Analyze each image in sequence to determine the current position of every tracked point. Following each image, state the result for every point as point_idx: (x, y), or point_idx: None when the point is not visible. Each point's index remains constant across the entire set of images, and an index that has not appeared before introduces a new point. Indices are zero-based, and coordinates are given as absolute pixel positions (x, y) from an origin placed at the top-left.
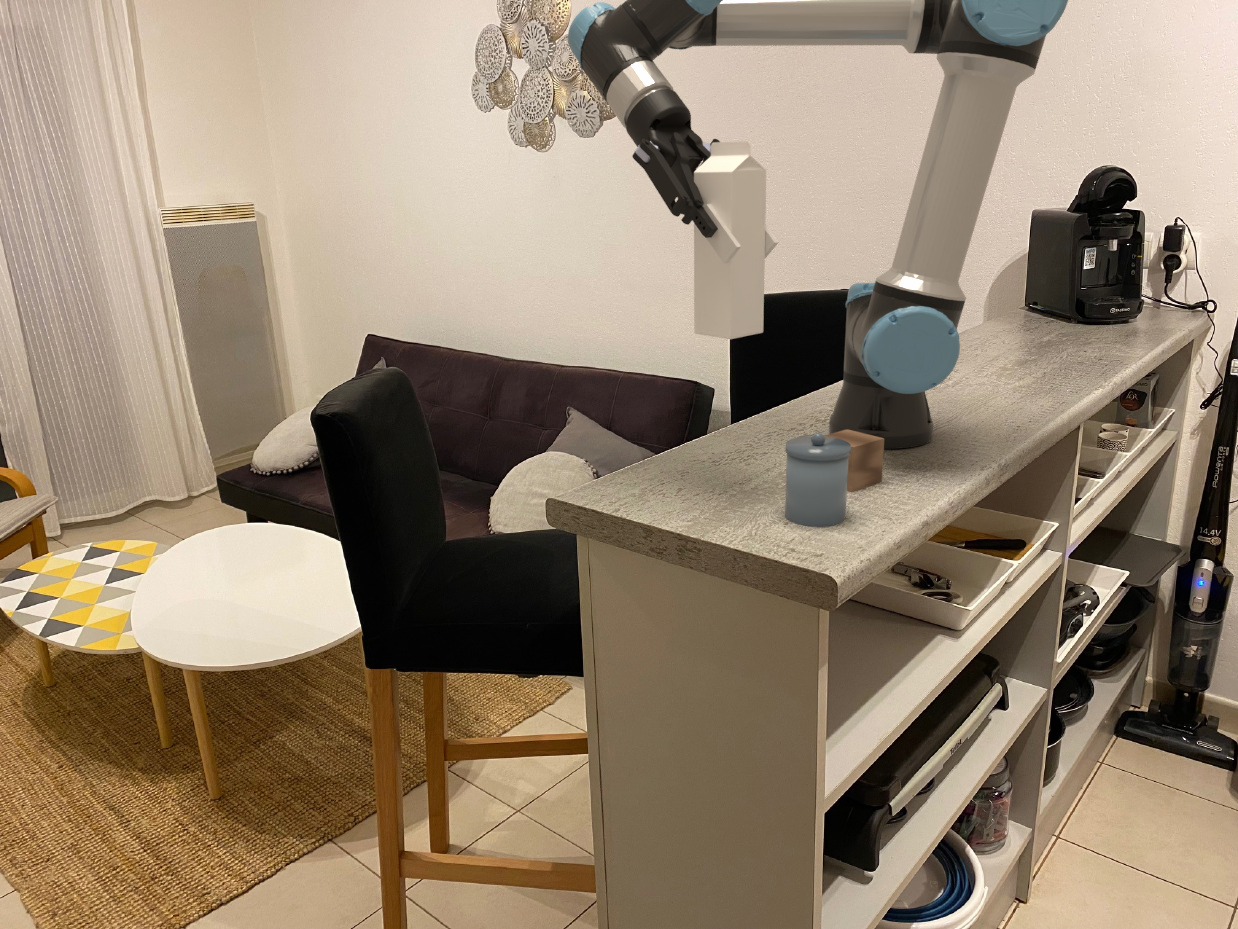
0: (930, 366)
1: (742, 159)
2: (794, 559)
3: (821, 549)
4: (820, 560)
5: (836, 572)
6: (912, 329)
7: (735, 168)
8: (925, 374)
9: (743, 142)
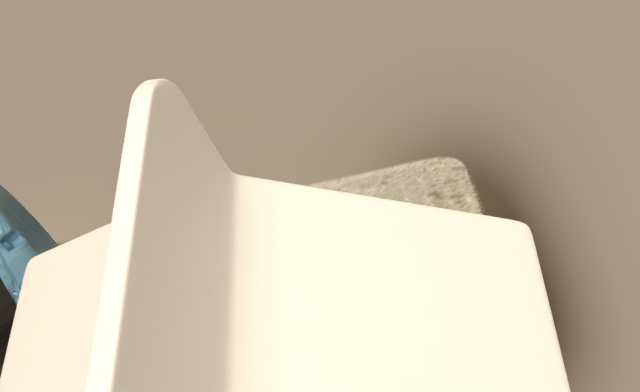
0: (36, 225)
1: (333, 225)
2: (464, 202)
3: (420, 203)
4: (443, 185)
5: (452, 158)
6: (14, 218)
7: (482, 218)
8: (48, 236)
9: (159, 205)
